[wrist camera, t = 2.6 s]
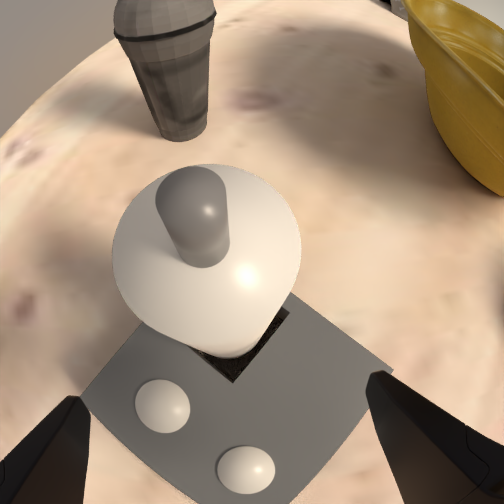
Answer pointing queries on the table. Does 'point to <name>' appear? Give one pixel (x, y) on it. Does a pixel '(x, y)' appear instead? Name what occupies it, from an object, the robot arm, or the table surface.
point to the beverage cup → (169, 59)
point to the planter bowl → (463, 83)
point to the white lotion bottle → (207, 257)
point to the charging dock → (237, 408)
